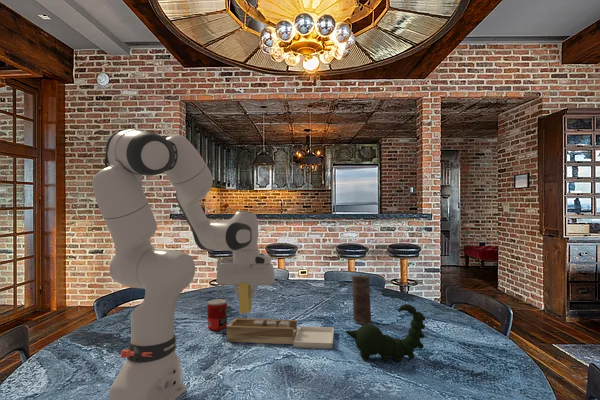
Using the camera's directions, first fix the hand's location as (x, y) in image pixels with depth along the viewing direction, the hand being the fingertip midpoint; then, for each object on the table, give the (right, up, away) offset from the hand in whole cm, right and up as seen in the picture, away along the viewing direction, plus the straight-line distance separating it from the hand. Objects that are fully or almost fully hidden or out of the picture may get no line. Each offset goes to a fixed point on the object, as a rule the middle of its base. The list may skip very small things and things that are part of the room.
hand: (245, 297), depth 122 cm
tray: (+24, -19, +10) cm, 32 cm away
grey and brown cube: (+13, -16, +12) cm, 24 cm away
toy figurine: (+47, -18, -7) cm, 51 cm away
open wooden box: (+5, -19, +13) cm, 23 cm away
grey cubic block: (+3, -16, +13) cm, 21 cm away
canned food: (-16, -20, +24) cm, 35 cm away
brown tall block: (+45, -19, +29) cm, 57 cm away
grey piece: (+8, -16, +12) cm, 22 cm away
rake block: (0, -5, 0) cm, 5 cm away
